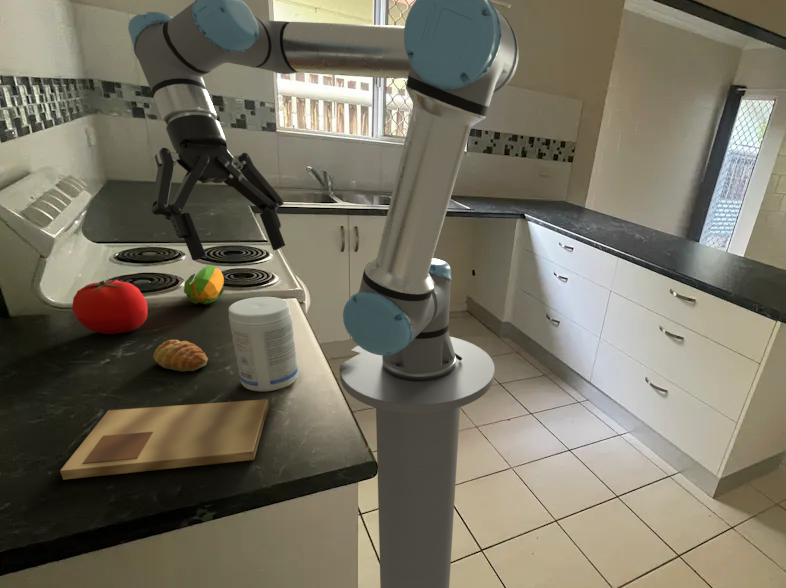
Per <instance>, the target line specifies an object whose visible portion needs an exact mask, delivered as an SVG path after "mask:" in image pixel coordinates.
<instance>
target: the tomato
mask: <svg viewBox="0 0 786 588" xmlns="http://www.w3.org/2000/svg"><path fill="white" fill-rule="evenodd" d="M121 277H122V276H121V275H120V276H118V277H116V278H114V279H112V280H107V281H104V280H101V281H98V282H92V283H89V284H86V285H85V286H83V287H82V288H80V289H78V290H77V291H76V293H75V295H74V296H73V298H72V306H71V310H72V312H73V314H74V316H75V318H76V320H77V321H78V322H79V323H80V325H82V326H83V327H84V328H86V329H87V330H89V331H92V332H94V333H97V334H98V333H99V334H104V335H117V334H123V333H130V332H132V331H135V330H136V329H138V328H140V327H141V326H143V324H144V323H145V322H146V320H147V319H148V311H149V309H148V308H149V307H148V303H147V300H146V298H145V296H144V294H143V293H142V292H141V290H140V288H138V287H137V286H136V285H134V284H133V283H130V282H126V281H120V280H118V279H119V278H121Z"/></svg>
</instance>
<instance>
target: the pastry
mask: <svg viewBox="0 0 786 588" xmlns="http://www.w3.org/2000/svg"><path fill="white" fill-rule="evenodd" d="M152 355H153V356H152V357H153V358H152V359H153V360H154V362H156V364H157V365H158V366H160V367H162V368H164V369H168V370H172V371H177V372H194V371H197V370H199V369H201V368H203V367H204V366H206V365H207V363H208V362H209V361H208V360H209V358H208V357H207V355H206V352H205V351H203V350H202V348H201V347H199V346H198V345H196V344H195V343H193V342H190V341H188V340H182V341H180V340H178V339H168V340H165V341H163V342H162V343H161V344H160V345H158V346H157V347H156V348H155V350H154V352H153V354H152Z"/></svg>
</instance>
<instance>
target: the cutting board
mask: <svg viewBox="0 0 786 588" xmlns="http://www.w3.org/2000/svg"><path fill="white" fill-rule="evenodd" d="M269 407H270V406H269V399H264V398H263V399H251V400H238V401H223V402H208V403H196V404H195V403H193V404H182V405H165V406H154V407H152V406H150V407H138V408H137V407H136V408H123V409H109V410H107V411H106V413H105V414H104V415H103V416H102V418H100V420H99V421H98V422H97V424H96V425H95V426H94V428H93V429H91V431H90V432H89V434H88V435H87V436H86V437H85V438H84V440H83V441H82V442H81V444H80V445H79V446H78V448H77V449H76V450H75V451H74V452H73V454H72V455H71V456H70V458H69V459H68V460H67V461H66V462H65V464H64V465H63V466H62V467H61V469H60V470H59V472H60V475H61V478H62V480H63V481H65V480H74V479H76V480H77V479H84V478H92V477H93V478H94V477H103V476H112V475H114V476H115V475H121V474H123V475H124V474H132V473H143V472H151V471H160V470H171V469H179V468H189V467H198V466H200V467H201V466H208V465H219V464H227V463H236V462H245V461H247V462H248V461H255V458H256V454H257V452H258V447H259V443H260V439H261V436H262V432H263V429H264V425H265V421H266V417H267V414H268V410H269Z"/></svg>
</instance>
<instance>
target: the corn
mask: <svg viewBox="0 0 786 588" xmlns="http://www.w3.org/2000/svg"><path fill="white" fill-rule="evenodd" d="M224 280H225V277H224V274H223V273H222V270H221V269H219V268H216V266H214V265H212V264H211V265H208V266H205V267H202V269H200V270H199V271H198V272H197V273H193V274H191V275H190V276H189V277H188V278H187V279H186V280H185V282H184V288H183V292H184V294H185V296H186V297H187V299H188V300H189V301H190V302H191V303H193V304H194V305H198V304H203V305H205V306H206V305H209V304H211V303H214V302H216V301H217V300H218V299H219V298H220V296H221V295H222V294H223V293H224V291H225V287H223V286H224V284H225V281H224Z"/></svg>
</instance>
